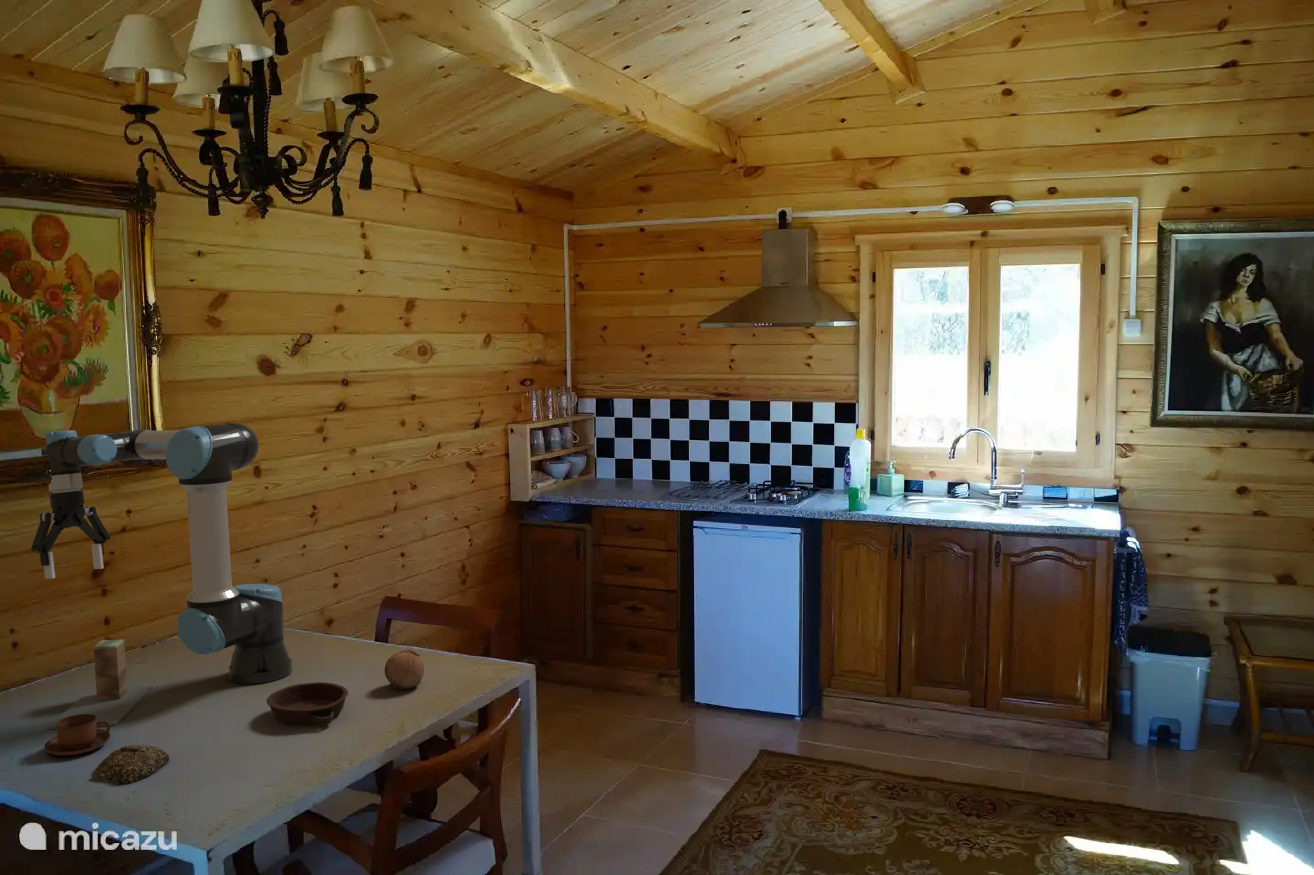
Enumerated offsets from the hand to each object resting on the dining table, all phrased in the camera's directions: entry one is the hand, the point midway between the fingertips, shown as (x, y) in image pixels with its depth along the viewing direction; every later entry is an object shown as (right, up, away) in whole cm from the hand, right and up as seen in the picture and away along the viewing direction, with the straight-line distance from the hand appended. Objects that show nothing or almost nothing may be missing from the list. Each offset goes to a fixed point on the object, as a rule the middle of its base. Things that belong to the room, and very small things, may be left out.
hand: (75, 573), depth 262 cm
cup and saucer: (+27, -31, -47) cm, 63 cm away
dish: (+70, -29, -29) cm, 81 cm away
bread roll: (+44, -32, -58) cm, 79 cm away
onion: (+87, -27, -11) cm, 92 cm away
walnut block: (+19, -27, -18) cm, 38 cm away
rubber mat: (+20, -28, -24) cm, 42 cm away
